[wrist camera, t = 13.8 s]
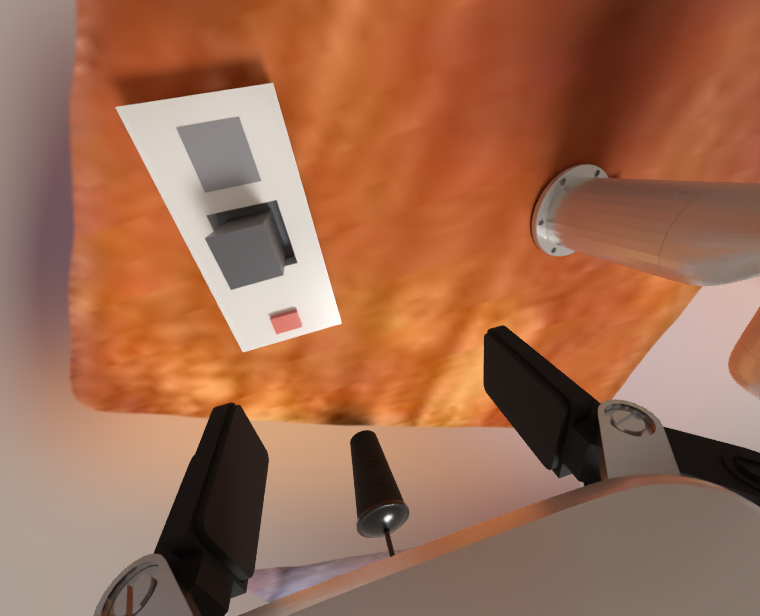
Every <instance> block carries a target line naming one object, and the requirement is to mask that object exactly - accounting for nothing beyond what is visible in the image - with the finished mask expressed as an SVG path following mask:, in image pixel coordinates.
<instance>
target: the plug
mask: <svg viewBox="0 0 760 616" xmlns="http://www.w3.org/2000/svg"><path fill="white" fill-rule="evenodd" d="M205 240H206V242H207V244H208V246H209V248H210V250H211V252H212V254H213V256H214V258H215V260H216V262H217V264H218V266H219V268H220V270H221V272H222V274H223V276H224V278H225V280H226V282H227V283H228V285H229V287H230V289H231V290H233V289H236V288H240V287H244V286H247V285H251V284H254V283H258V282H261V281H265V280H269V279H272V278H276V277H279V276H283V275H284V266H285V255H286V248H285V245H284V242H283V239H282V237H281V234H280V231H279V229H278V226H277V223H276V221H275V218H274V215H273V212H272V210H271V209H269V210H265V211H260V212H256V213H252V214H248V215H244V216H240V217H236V218H232V219H228V220H227V221H225V222H224V223H223V224H222V225H221V226H219V227H218V228H217V229H216V230H214V231H213V232H212V233H211V234H209V235H208V236H207V237H206V238H205Z"/></svg>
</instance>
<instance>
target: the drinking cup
mask: <svg viewBox="0 0 760 616" xmlns="http://www.w3.org/2000/svg"><path fill="white" fill-rule="evenodd" d="M350 445H351V455H352V465H353V476H354V487H355V497H356V507H357V518H358V521H357V524H356V525H357V531H358V533H359V534H360V535H361V536H363V537H367V538H374V537H384V536H385V538H386V542H387V546H388V550H389V555H390V557H392V556H394V555H395V553H394V549H393V545H392V541H391V537H390V534H391V533H393V532H394V531H396V530H397V529H398V528H399V527H401V526H402V525H403V524H404V523H405V522H406V520H407V519H408V517H409V508H408V506H407V504H406V503H404V501H403V499H402V496H401V494H400V491H399V489H398V487H397V484H396V482H395V479H394V477H393V475H392V472H391V470H390V468H389V465H388V463H387V460H386V458H385V456H384V453H383V451H382V448H381V446H380V444H379V441H378V439H377V437H376V434H375V433H374V432H372V431H369V430H367V431H366V430H365V431H361V432H358V433H357V434H355V435H354V436H353V437H352V439H351V442H350Z"/></svg>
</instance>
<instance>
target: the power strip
mask: <svg viewBox="0 0 760 616" xmlns="http://www.w3.org/2000/svg"><path fill="white" fill-rule="evenodd" d="M115 108H116V110H117V112H118V114H119V115H120V117H121V119H122V121H123V123H124V125H125V127H126V129H127V131H128V133H129V135H130V137H131V138H132V140H133V142H134V144H135V146H136V148H137V150H138V152H139V154H140V156H141V158H142V160H143V162H144V163H145V165H146V167H147V169H148V171H149V173H150V175H151V177H152V179H153V181H154V183H155V185H156V187H157V188H158V190H159V192H160V194H161V196H162V198H163V200H164V202H165V204H166V206H167V208H168V210H169V211H170V213H171V215H172V217H173V219H174V221H175V223H176V225H177V227H178V229H179V231H180V233H181V235H182V236H183V238H184V240H185V242H186V244H187V246H188V248H189V250H190V252H191V254H192V256H193V258H194V260H195V261H196V263H197V265H198V267H199V269H200V271H201V273H202V275H203V277H204V279H205V281H206V283H207V284H208V286H209V288H210V290H211V292H212V294H213V296H214V298H215V300H216V302H217V304H218V306H219V308H220V309H221V311H222V313H223V315H224V317H225V319H226V321H227V323H228V325H229V327H230V329H231V331H232V333H233V334H234V336H235V338H236V340H237V342H238V344H239V346H240V348H241V350H242V352H246V351H249V350H253V349H256V348H260V347H263V346H266V345H270V344H273V343H277V342H280V341H284V340H287V339H290V338H294V337H297V336H301V335H304V334H307V333H311V332H314V331H318V330H321V329H325V328H328V327H331V326H335V325H338V324H342V322H341V319H340V315H339V312H338V308H337V305H336V301H335V298H334V294H333V291H332V287H331V284H330V280H329V277H328V273H327V270H326V266H325V263H324V259H323V256H322V252H321V249H320V245H319V242H318V238H317V235H316V231H315V228H314V224H313V221H312V217H311V214H310V210H309V207H308V203H307V200H306V196H305V193H304V189H303V186H302V182H301V179H300V175H299V172H298V168H297V165H296V162H295V158H294V155H293V151H292V148H291V144H290V141H289V137H288V134H287V130H286V127H285V123H284V120H283V116H282V113H281V109H280V106H279V102H278V99H277V95H276V92H275V88H274V85H273V83H268V84H262V85H255V86H249V87H242V88H236V89H229V90H223V91H216V92H210V93H204V94H197V95H191V96H184V97H178V98H171V99H165V100H158V101H152V102H145V103H139V104H132V105H126V106H119V107H115ZM269 209H271V210H272V212H273V215H274V218H275V221H276V223H277V226H278V229H279V231H280V234H281V237H282V239H283V242H284V245H285V248H286V255H285V266H284V275H283V276H279V277H276V278H272V279H269V280H265V281H261V282H258V283H254V284H251V285H247V286H244V287H240V288H236V289H233V290H231V289H230V287H229V285H228V283H227V282H226V280H225V278H224V276H223V274H222V272H221V270H220V268H219V266H218V264H217V262H216V260H215V258H214V256H213V254H212V252H211V250H210V248H209V246H208V244H207V242H206V240H205V238H206V237H207V236H208V235H209V234H211V233H212V232H213V231H214V230H216V229H217V228H218V227H219V226H221V225H222V224H223V223H224V222H225V221H227V220H228V219H232V218H236V217H240V216H244V215H248V214H252V213H256V212H260V211H265V210H269Z"/></svg>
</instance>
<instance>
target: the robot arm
mask: <svg viewBox="0 0 760 616" xmlns="http://www.w3.org/2000/svg"><path fill="white" fill-rule="evenodd" d="M532 235H533V240H534V242H535V244H536V246H537V247H538V248H539V249H540V250H541V251H543V252H544V253H546V254H549V255H552V256H566V255H569V254H572V253H574V252H576V251H577V252H580V253H583V254H587V255H590V256H593V257H596V258H600V259H603V260H606V261H610V262H613V263H616V264H620V265H623V266H626V267H630V268H633V269H636V270H639V271H643V272H646V273H649V274H653V275H656V276H659V277H663V278H666V279H669V280H673V281H676V282H680V283H684V284H688V285H695V286H716V285H724V284H728V283H733V282H738V281H742V280H746V279H749V278H753V277H757V276H760V184H759V183H731V182H703V181H677V180H650V179H624V178H608V176H607V174H606V172H605V171H604V170H603V169H602V168H600V167H598V166H596V165H590V164H580V165H576V166H572V167H570V168H568V169H565V170H564V171H562V172H561V173H560V174H558V175H557V176H556V177H555V178H554V179H553V180H552V181H551V182H550V183H549V184H548V185H547V187H546V188H545V189H544V191H543V192H542V194H541V196H540V197H539V199H538V202H537V204H536V206H535V210H534V213H533V217H532ZM728 366H729V372H730V374H731V376H732V378H733V379H734V380H735V381H736V382H737V384H739V386H741V387H742V388H743V389H744V390H746V391H747V392H748V393H750V394H751V395H753V396H754V397H756V398H758V399H760V307H759V309H758V310H757V312H756V313H755V315H754V316H753V318H752V320H751V321H750V323H749V324H748V326H747V327H746V329H745V330H744V332H743V333H742V335H741V337H740V339H739V340H738V342H737V343H736V345H735V347H734V349H733V351H732V352H731V355H730V358H729V362H728ZM484 388H485V391H486V393H487V394H488V395H489V397H490V398H491V399H492V400H493V402H494V403H495V404H496V406H497V407H498V408H499V409H500V411H501V412H502V413H503V414H504V416H505V417H506V418H507V420H508V421H509V422H510V423H511V425H512V426H513V427H514V428H515V430H516V431H517V432H518V433H519V435H520V436H521V437H522V439H523V440H524V441H525V442H526V444H527V445H528V446H529V447H530V449H531V450H532V451H533V453H534V454H535V455H536V456H537V458H538V459H539V460H540V461H541V463H542V464H543V465H544V466H545V467H546V468H547V469H548V470H551V469H552V470H553V472H554V473H555V474H556V475H557V477H558V478H561V477H564V476H567V475H569V474H573V475H574V476H575V477H576V478H577V480H578V481H580V488H578V489H575V490H573V491H569V492H566V493H564V494H561V495H558V496H555V497H552V498H549V499H546V500H543V501H540V502H538V503H535V504H532V505H530V506H527V507H524V508H521V509H519V510H516V511H513V512H511V513H508V514H505V515H503V516H500V517H497V518H494V519H491V520H489V521H486V522H483V523H480V524H478V525H475V526H472V527H470V528H467V529H464V530H462V531H459V532H456V533H453V534H451V535H448V536H445V537H443V538H440V539H438V540H435V541H432V542H429V543H427V544H424V545H421V546H419V547H416V548H413V549H410V550H408V551H405V552H402V553H400V554H397V555H394V556H392V557H389V558H386V559H384V560H381V561H378V562H376V563H373V564H370V565H368V566H365V567H362V568H360V569H357V570H355V571H352V572H349V573H347V574H344V575H341V576H339V577H336V578H333V579H331V580H328V581H326V582H323V583H320V584H318V585H315V586H312V587H310V588H307V589H304V590H302V591H299V592H297V593H294V594H291V595H289V596H286V597H284V598H281V599H279V600H276V601H274V602H271V603H269V604H266V605H264V606H261V607H259V608H256V609H254V610H252V611H249V612H246V613H244V614H241V615H239V616H760V453H759V452H756V451H752V450H750V449H746V448H743V447H739V446H736V445H731V444H728V443H724V442H720V441H716V440H713V439H709V438H704V437H701V436H697V435H693V434H689V433H686V432H682V431H678V430H674V429H670V428H666V427H663V426H662V424H661V422H660V420H659V419H658V418H657V417H656V416H655V415H654V414H653V413H651V412H649V411H648V410H647V409H645V408H643V407H641V406H639V405H637V404H635V403H631V402H628V401H624V400H607V401H605V402H603V403H601V404H600V403H599V402H598V401H597V400H596V399H594V398H593V397H592V396H591V395H589V394H588V393H587V392H586V391H584V390H583V389H582V388H581V387H580V386H578V385H577V384H576V383H575V382H573V381H572V380H571V379H570V378H569V377H567V376H566V375H565V374H564V373H562V372H561V371H560V370H559V369H557V368H556V367H555V366H554V365H553V364H551V363H550V362H549V361H548V360H546V359H545V358H544V357H543V356H541V355H540V354H539V353H538V352H536V351H535V350H534V349H533V348H531V347H530V346H529V345H528V344H527V343H525V342H524V341H523V340H522V339H520V338H519V337H518V336H517V335H516V334H514V333H513V332H512V331H511V330H509V329H508V328H507V327H506V326H503V325H502V326H498V327H495V328H491V329H489V330H488V331H487V334H485V335H484ZM268 463H269V457H268V453H267V450H266V449H265V447H264V445H263V444H262V442H261V440H260V438H259V437H258V435H257V433H256V431H255V430H254V428H253V426H252V424H251V423H250V421H249V419H248V418H247V416H246V414H245V412H244V411H243V409H242V407H241V406H240V405H235V404H234V403H228V404H224V405H221V406H217V407H215V408H213V410H212V412H211V415H210V417H209V420H208V423H207V425H206V428H205V430H204V433H203V436H202V438H201V441H200V443H199V446H198V448H197V451H196V454H195V455H194V456H193V457H192V459H191V461H190V463H189V466H188V468H187V471H186V473H185V476H184V478H183V481H182V483H181V486H180V488H179V491H178V493H177V496H176V498H175V501H174V503H173V506H172V508H171V511H170V514H169V517H168V519H167V521H166V524H165V526H164V529H163V531H162V534H161V536H160V539H159V541H158V544H157V546H156V549H155V551H154V554H150V555H146V556H143V557H142V558H140V559H138V560H136V561H134V562H133V563H132V564H131V565H129V566H128V567H127V568H125V569H124V570H123V571H122V572H121V573H120V574H119V575H118V576H117V577H116V578H115V580H113V582H112V583H111V584H110V586H109V587H108V588H107V590H106V591H105V593H104V594H103V596H102V598H101V599H100V601H99V603H98V605H97V607H96V610H95V613H94V616H228V615H227V612H228V609H229V603H230V598H233V597H236V596H238V595H241V594H244V593H246V590H247V584H248V579H249V578H251V577H252V576H253V573H254V569H255V562H256V554H257V546H258V538H259V531H260V524H261V515H262V509H263V501H264V493H265V485H266V478H267V471H268Z"/></svg>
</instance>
